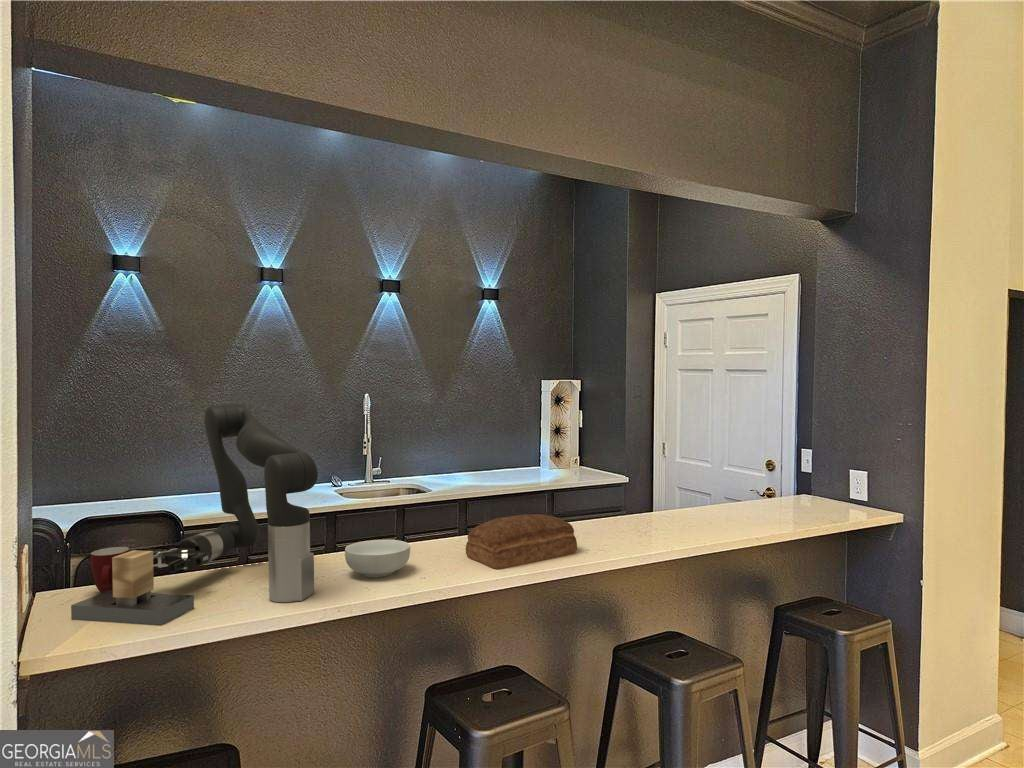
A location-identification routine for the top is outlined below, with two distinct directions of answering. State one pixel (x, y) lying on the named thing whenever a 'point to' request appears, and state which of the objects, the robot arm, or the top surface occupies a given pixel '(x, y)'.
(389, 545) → the cereal bowl
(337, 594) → the top surface
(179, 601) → the dark grey slab
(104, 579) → the mug
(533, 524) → the bread
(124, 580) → the tan wooden tall block
